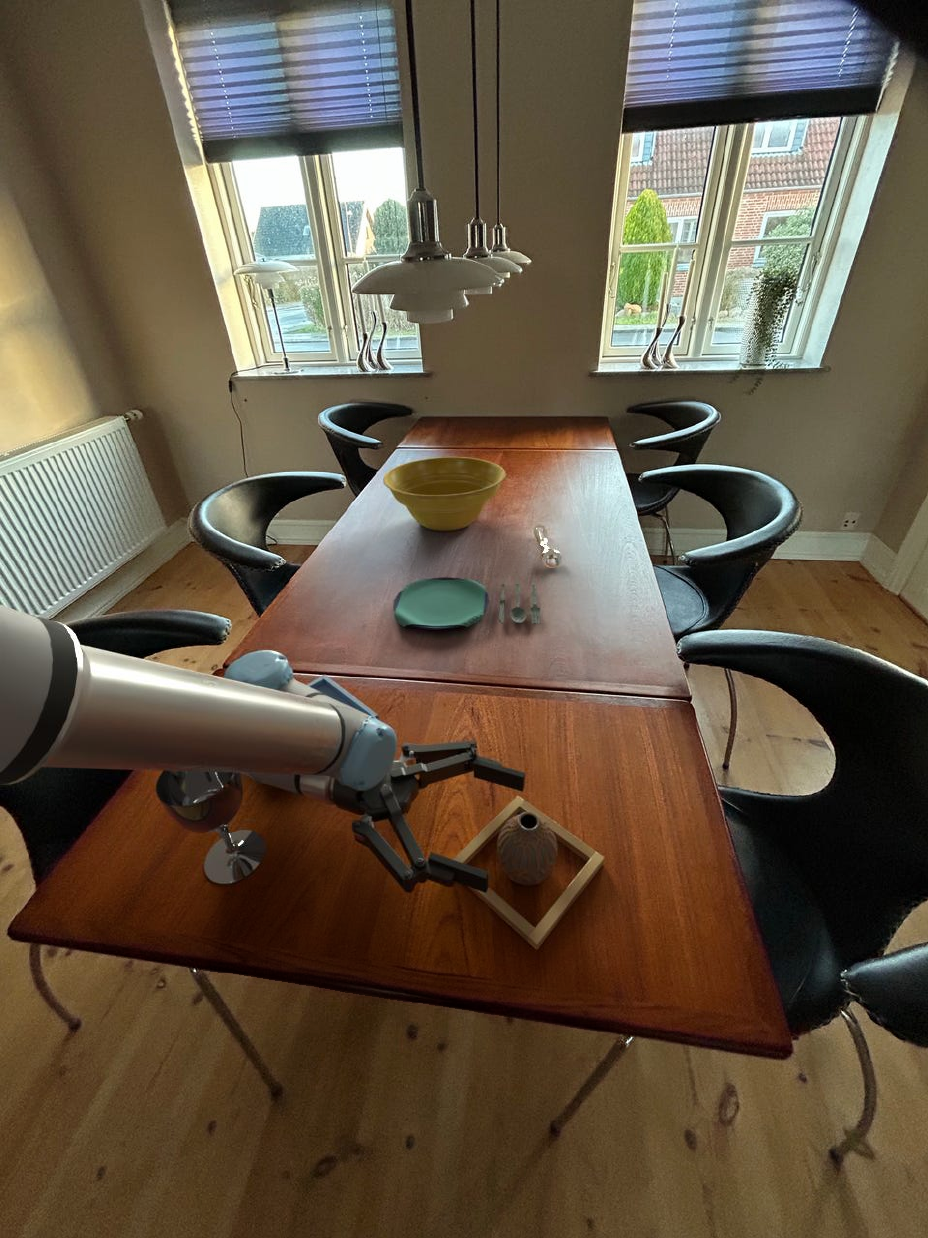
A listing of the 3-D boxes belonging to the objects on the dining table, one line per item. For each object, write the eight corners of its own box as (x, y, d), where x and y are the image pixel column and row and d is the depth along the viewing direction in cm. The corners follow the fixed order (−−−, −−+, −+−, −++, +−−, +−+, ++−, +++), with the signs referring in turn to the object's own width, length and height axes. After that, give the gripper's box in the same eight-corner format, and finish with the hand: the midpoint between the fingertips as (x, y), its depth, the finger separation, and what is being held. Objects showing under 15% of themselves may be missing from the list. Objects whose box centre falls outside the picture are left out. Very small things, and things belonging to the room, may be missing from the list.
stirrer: (530, 518, 137) (548, 517, 137) (529, 530, 139) (547, 529, 139) (543, 557, 121) (564, 556, 121) (542, 571, 123) (562, 570, 123)
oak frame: (536, 950, 55) (537, 945, 54) (448, 869, 62) (447, 864, 62) (603, 863, 62) (604, 857, 62) (517, 801, 70) (518, 795, 69)
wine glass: (185, 876, 63) (137, 795, 54) (229, 820, 69) (193, 740, 61) (241, 896, 61) (200, 814, 52) (281, 836, 67) (251, 755, 58)
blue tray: (285, 786, 73) (282, 778, 72) (236, 734, 82) (233, 726, 81) (379, 722, 83) (378, 714, 82) (326, 681, 92) (324, 674, 91)
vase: (505, 833, 66) (506, 788, 61) (560, 849, 64) (566, 803, 59) (489, 884, 61) (489, 839, 56) (548, 903, 59) (553, 858, 54)
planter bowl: (405, 498, 163) (400, 454, 155) (510, 501, 158) (510, 456, 150) (373, 544, 136) (366, 494, 129) (498, 549, 131) (498, 497, 124)
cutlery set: (402, 583, 119) (401, 575, 117) (537, 585, 116) (537, 575, 115) (385, 635, 102) (384, 626, 101) (541, 638, 100) (542, 628, 99)
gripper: (395, 729, 78) (534, 768, 72) (292, 883, 59) (468, 955, 53) (390, 691, 74) (537, 729, 68) (277, 843, 55) (466, 916, 48)
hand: (507, 828), depth 60 cm, fingers open, 13 cm apart
